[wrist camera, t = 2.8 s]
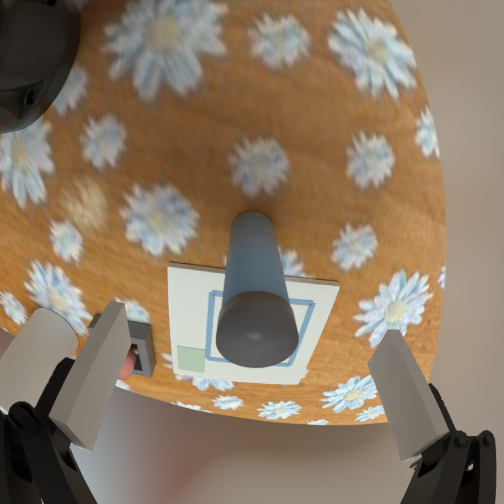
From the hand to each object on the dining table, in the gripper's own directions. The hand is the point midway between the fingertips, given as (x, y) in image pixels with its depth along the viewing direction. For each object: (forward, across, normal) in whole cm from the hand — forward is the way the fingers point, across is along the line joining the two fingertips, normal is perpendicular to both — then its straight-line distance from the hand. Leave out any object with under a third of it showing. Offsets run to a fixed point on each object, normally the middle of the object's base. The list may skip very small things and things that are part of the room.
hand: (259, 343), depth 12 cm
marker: (+12, 0, 0) cm, 12 cm away
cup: (+12, -25, -18) cm, 33 cm away
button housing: (+12, -13, -16) cm, 24 cm away
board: (+12, +1, -12) cm, 17 cm away
